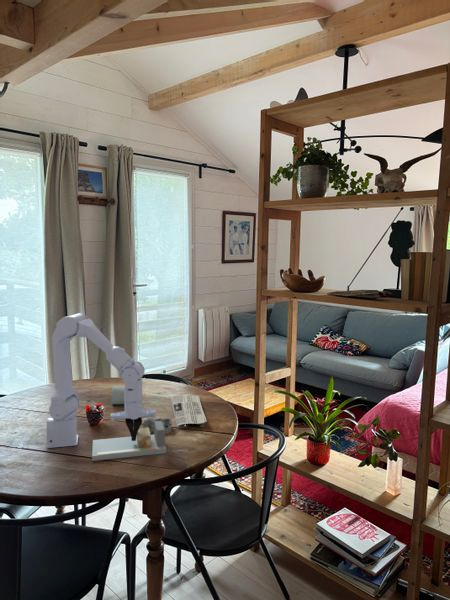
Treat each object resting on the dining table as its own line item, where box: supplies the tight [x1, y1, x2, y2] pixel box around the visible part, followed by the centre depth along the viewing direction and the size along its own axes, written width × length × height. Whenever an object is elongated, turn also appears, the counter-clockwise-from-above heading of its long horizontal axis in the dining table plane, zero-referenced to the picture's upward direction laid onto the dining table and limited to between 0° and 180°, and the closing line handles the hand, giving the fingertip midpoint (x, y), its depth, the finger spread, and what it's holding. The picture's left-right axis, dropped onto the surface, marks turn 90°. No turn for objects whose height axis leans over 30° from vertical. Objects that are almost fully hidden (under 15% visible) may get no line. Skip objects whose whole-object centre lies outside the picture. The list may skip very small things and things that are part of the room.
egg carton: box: [142, 417, 173, 434], centre depth 160 cm, size 11×8×4 cm
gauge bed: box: [91, 421, 167, 462], centre depth 144 cm, size 23×12×7 cm, turn 106°
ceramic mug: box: [111, 385, 125, 406], centre depth 188 cm, size 11×8×8 cm
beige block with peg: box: [137, 427, 152, 448], centre depth 145 cm, size 4×9×4 cm, turn 16°
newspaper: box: [170, 393, 208, 430], centre depth 178 cm, size 35×12×4 cm, turn 11°
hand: (133, 439), depth 145 cm, fingers closed
